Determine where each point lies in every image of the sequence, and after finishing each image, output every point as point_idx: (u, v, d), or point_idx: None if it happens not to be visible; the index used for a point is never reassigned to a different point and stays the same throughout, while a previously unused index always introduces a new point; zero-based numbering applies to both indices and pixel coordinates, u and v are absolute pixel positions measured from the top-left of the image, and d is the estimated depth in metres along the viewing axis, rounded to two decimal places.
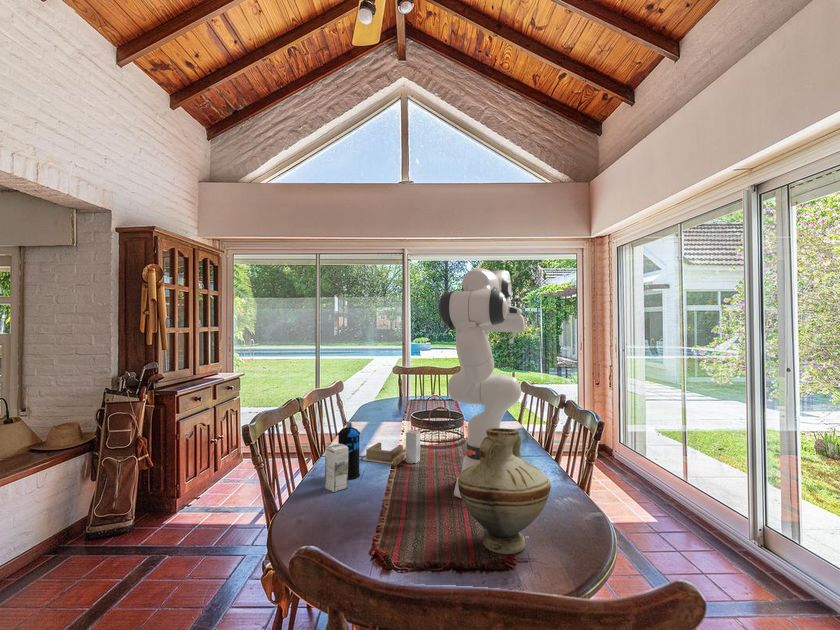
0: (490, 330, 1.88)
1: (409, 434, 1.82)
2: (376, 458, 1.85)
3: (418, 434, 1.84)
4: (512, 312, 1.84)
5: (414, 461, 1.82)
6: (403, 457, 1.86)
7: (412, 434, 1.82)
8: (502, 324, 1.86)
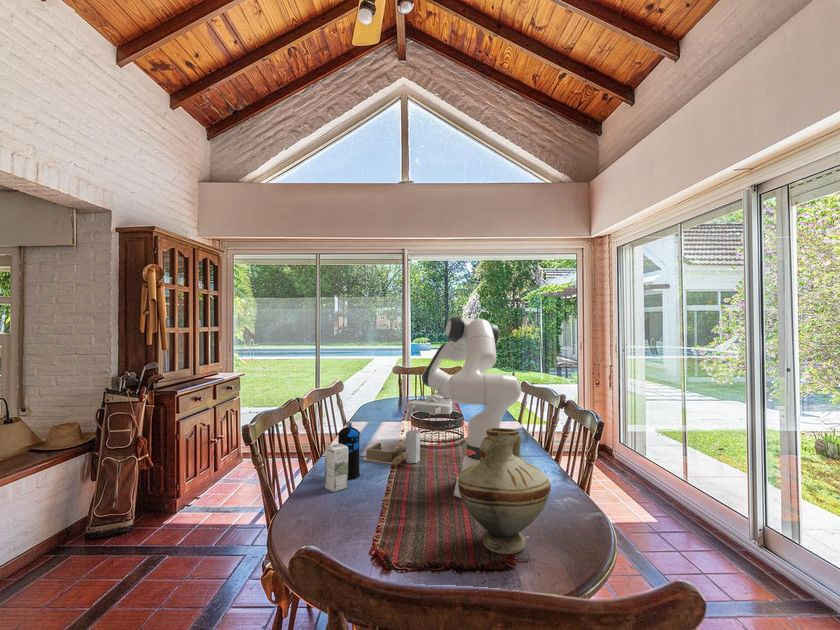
0: (420, 403, 2.02)
1: (409, 434, 1.82)
2: (376, 458, 1.85)
3: (418, 434, 1.84)
4: (445, 398, 2.05)
5: (414, 461, 1.82)
6: (403, 457, 1.86)
7: (412, 434, 1.82)
8: (432, 403, 2.02)
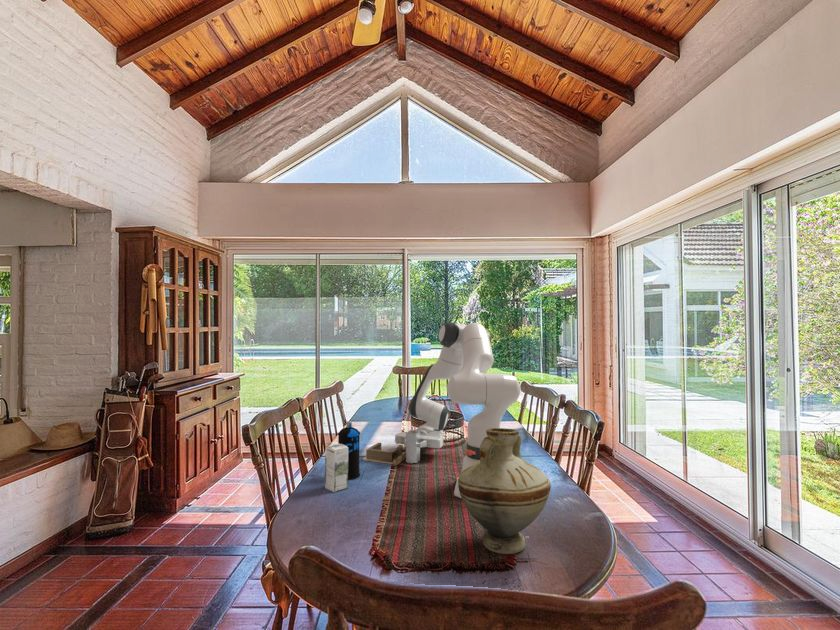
0: None
1: (409, 434, 1.82)
2: (376, 458, 1.85)
3: (418, 434, 1.84)
4: (435, 430, 1.93)
5: (414, 461, 1.82)
6: (403, 457, 1.86)
7: (412, 434, 1.82)
8: (422, 436, 1.90)
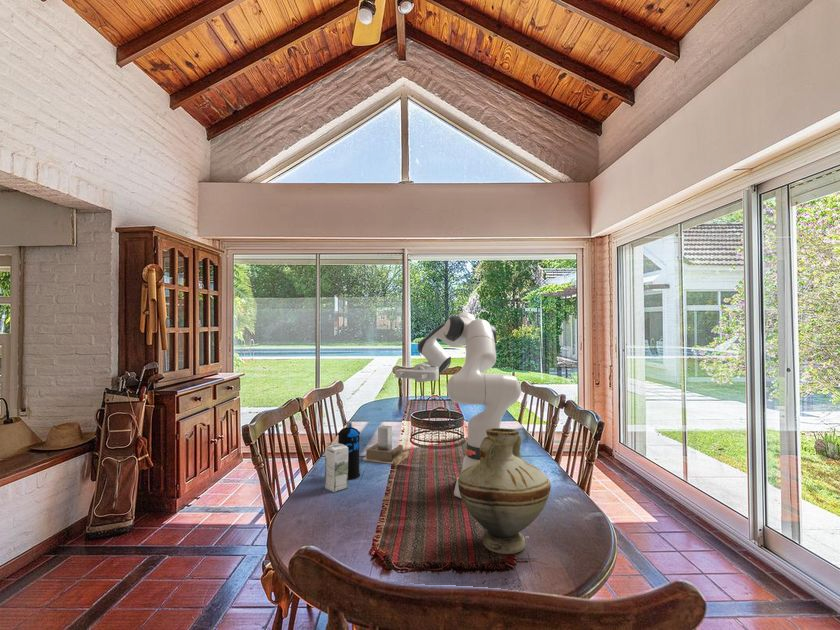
0: (407, 370, 2.09)
1: (381, 429, 1.88)
2: (376, 458, 1.85)
3: (390, 429, 1.89)
4: (431, 366, 2.13)
5: None
6: (403, 457, 1.86)
7: (384, 429, 1.88)
8: (419, 370, 2.10)
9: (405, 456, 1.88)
